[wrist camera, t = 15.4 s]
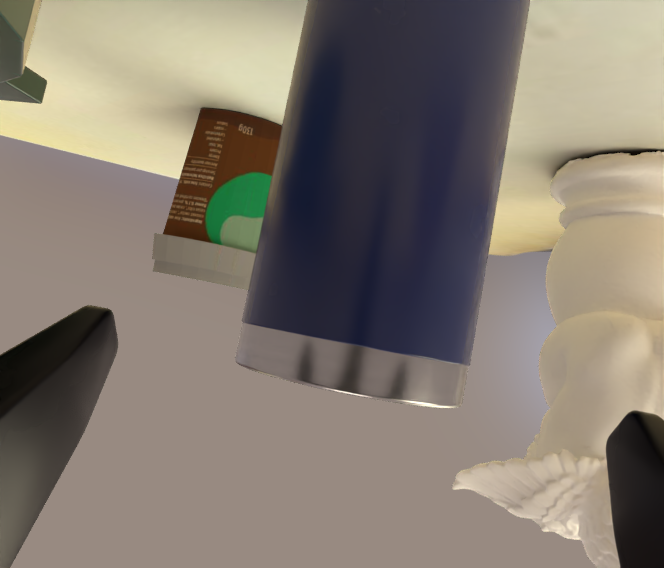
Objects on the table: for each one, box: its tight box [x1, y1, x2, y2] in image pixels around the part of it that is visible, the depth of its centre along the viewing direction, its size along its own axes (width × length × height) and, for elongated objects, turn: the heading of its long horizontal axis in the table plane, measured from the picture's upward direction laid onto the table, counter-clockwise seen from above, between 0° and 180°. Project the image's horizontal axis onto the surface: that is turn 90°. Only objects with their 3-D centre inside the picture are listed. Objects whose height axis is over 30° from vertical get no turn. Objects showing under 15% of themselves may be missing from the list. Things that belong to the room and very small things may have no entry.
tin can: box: [235, 0, 530, 408], centre depth 16 cm, size 6×6×13 cm
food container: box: [152, 108, 282, 290], centre depth 34 cm, size 12×6×10 cm, turn 23°
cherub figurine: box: [452, 151, 664, 568], centre depth 28 cm, size 12×12×22 cm
